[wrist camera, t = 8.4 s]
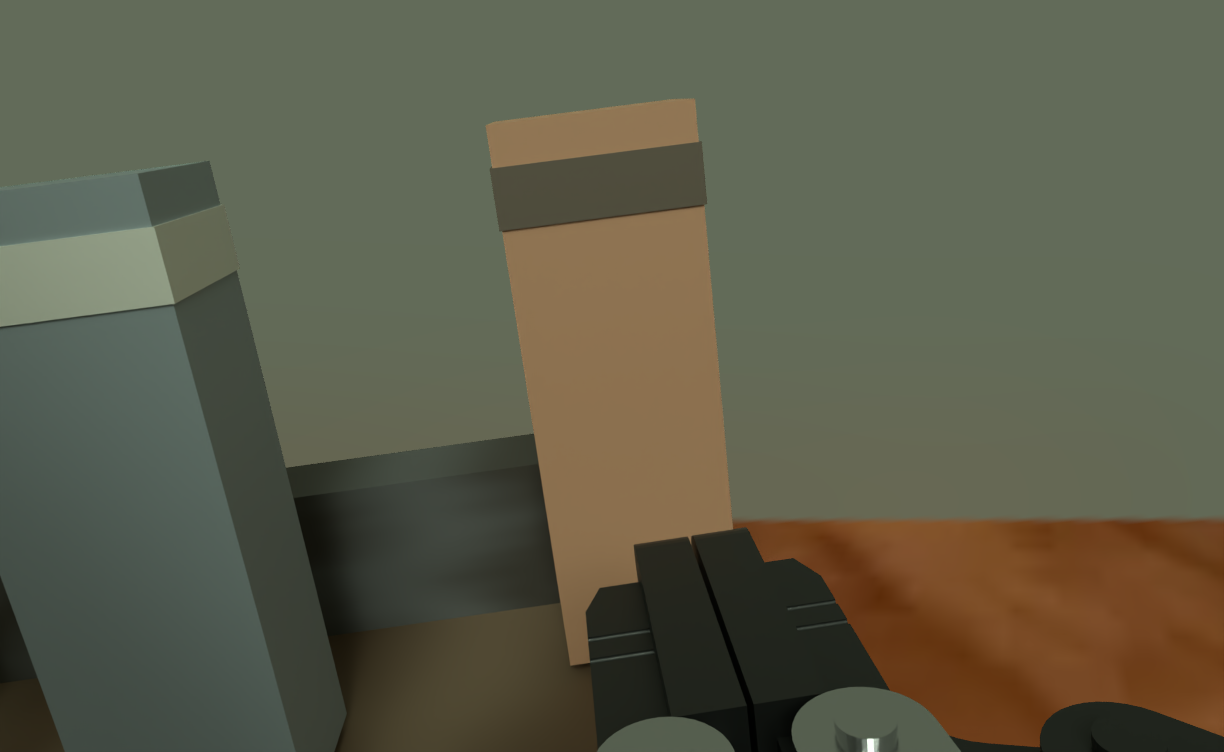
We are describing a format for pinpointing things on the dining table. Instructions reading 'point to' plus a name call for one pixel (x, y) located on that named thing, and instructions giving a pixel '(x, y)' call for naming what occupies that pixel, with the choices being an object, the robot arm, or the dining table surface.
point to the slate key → (150, 478)
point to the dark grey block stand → (413, 607)
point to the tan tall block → (614, 334)
